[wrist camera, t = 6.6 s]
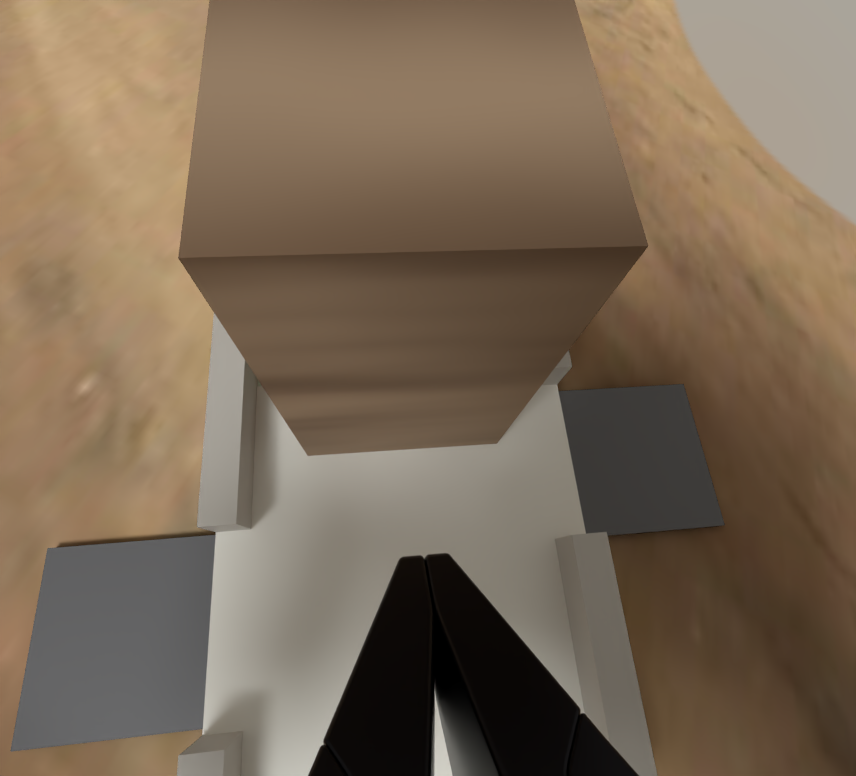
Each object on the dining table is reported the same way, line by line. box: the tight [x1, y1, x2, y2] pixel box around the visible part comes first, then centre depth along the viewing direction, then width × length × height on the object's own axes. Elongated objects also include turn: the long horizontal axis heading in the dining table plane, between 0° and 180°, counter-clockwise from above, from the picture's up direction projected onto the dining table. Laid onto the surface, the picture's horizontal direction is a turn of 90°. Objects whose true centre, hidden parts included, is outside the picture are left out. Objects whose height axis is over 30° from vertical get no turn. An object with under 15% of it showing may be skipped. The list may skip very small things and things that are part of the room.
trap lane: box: [11, 313, 725, 776], centre depth 15 cm, size 22×21×4 cm
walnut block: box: [178, 0, 648, 456], centre depth 12 cm, size 9×6×10 cm, turn 5°
